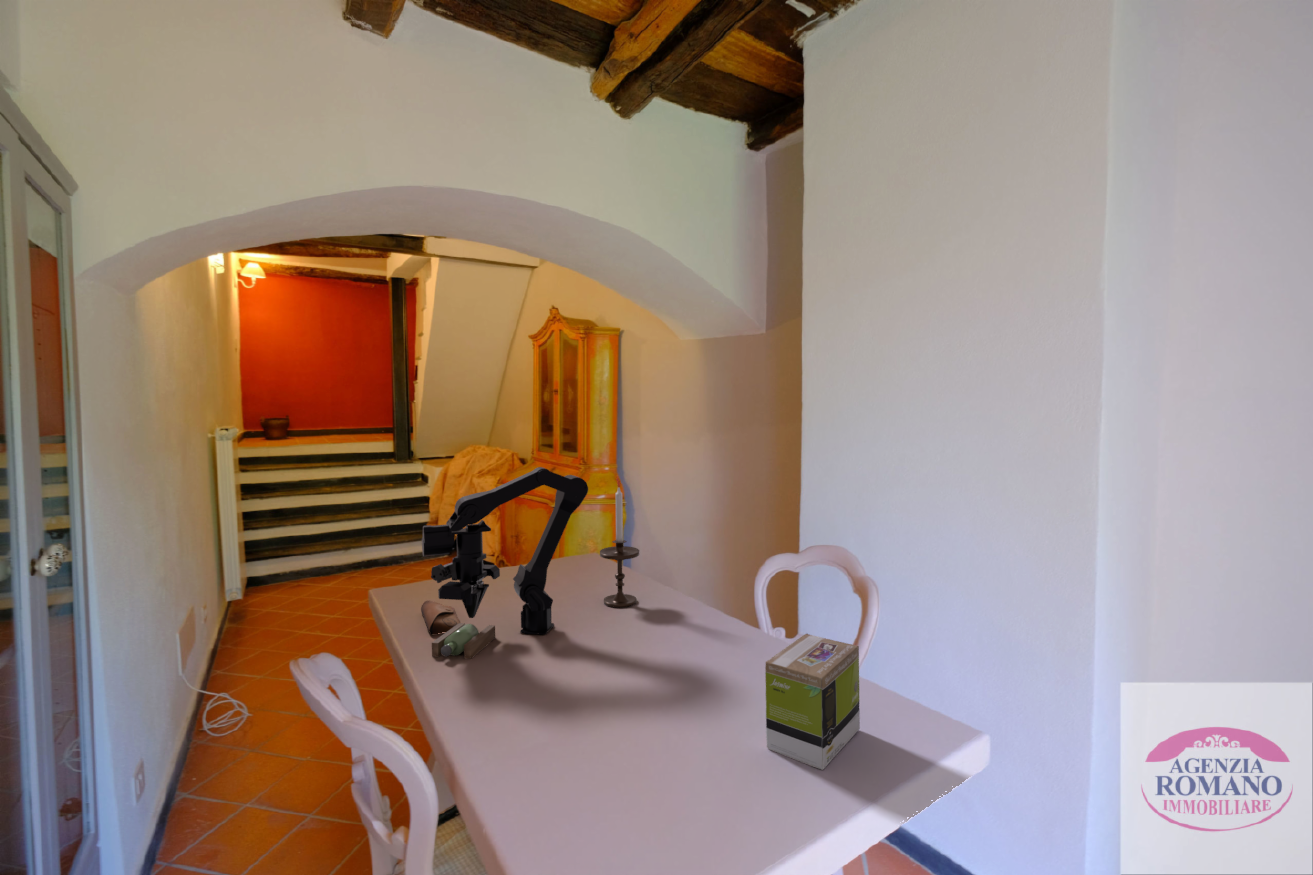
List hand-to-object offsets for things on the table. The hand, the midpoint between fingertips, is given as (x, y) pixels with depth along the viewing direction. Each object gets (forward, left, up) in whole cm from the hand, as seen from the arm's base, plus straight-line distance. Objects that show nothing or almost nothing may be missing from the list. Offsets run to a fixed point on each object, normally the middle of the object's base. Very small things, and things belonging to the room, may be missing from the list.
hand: (471, 617), depth 143 cm
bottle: (0, +1, -3) cm, 4 cm away
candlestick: (-27, -32, -6) cm, 43 cm away
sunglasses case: (+14, -10, -6) cm, 18 cm away
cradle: (0, +4, -6) cm, 7 cm away
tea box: (-75, +29, -6) cm, 81 cm away
